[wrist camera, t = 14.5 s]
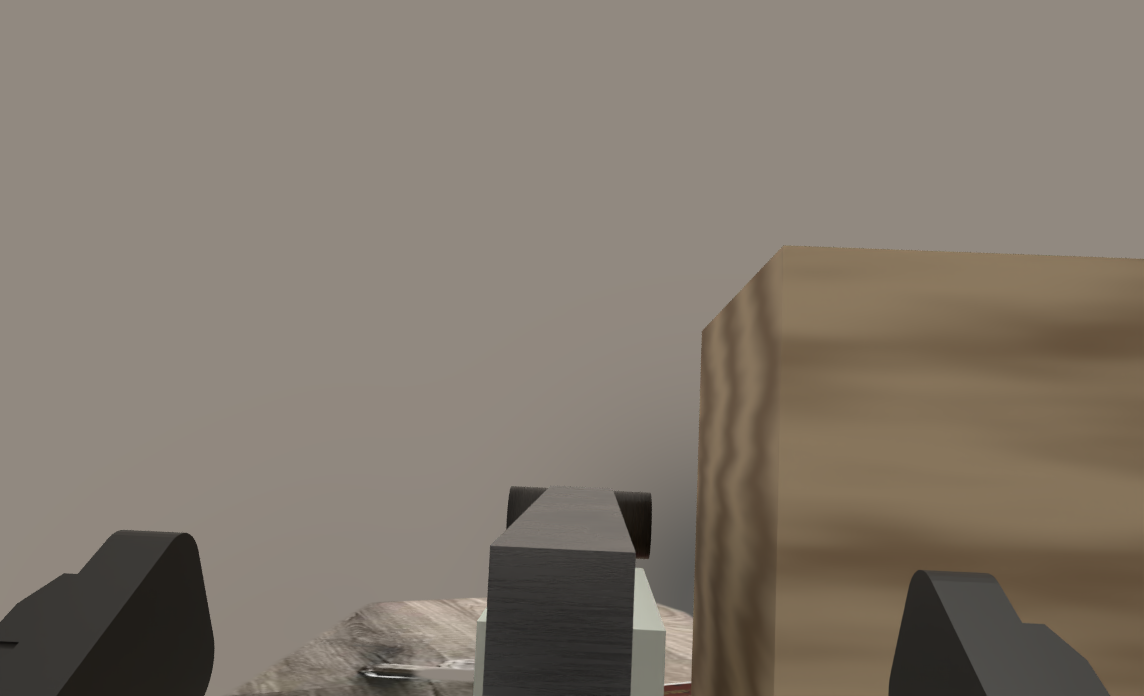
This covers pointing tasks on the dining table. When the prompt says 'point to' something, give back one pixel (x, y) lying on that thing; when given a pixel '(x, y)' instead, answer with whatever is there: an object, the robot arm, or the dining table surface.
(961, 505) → the oak stand
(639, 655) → the block
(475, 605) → the dining table surface
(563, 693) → the grey long bar
